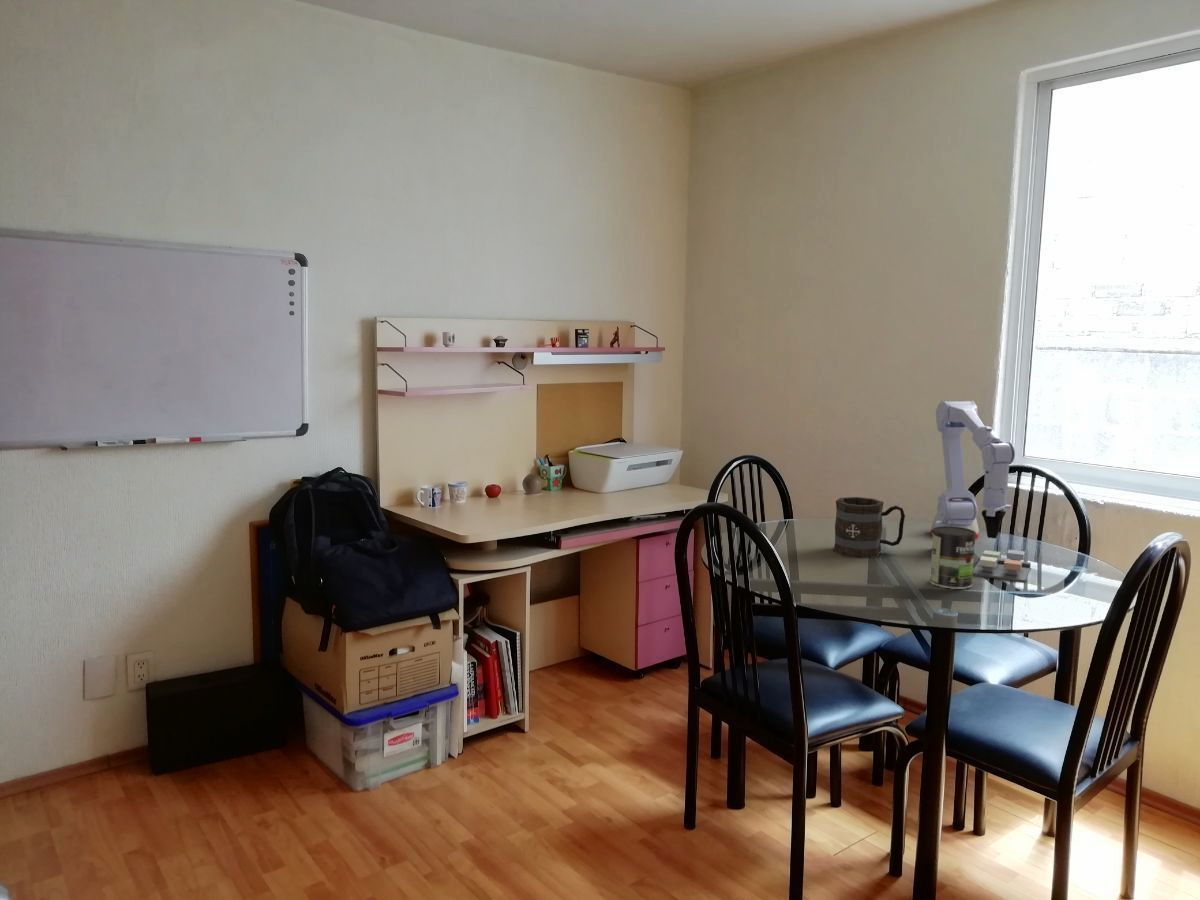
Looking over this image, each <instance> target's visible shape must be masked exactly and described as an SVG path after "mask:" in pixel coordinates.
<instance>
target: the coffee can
mask: <svg viewBox="0 0 1200 900" xmlns="http://www.w3.org/2000/svg"><path fill="white" fill-rule="evenodd" d="M975 536H976V532H975V531H973V530H970V529H967V528H961V527H952V526H941V527H935V528H933V535H932V543H931V545H932V548H931V560H930V561H931V564H930V577H929V578H930V580H929V583H930V582H931V583H932V584H935V585H937V586H940V587H939V588H941V587H945V588H952V589H951V590H953V589H963V590H968V589H967V588H969V589H971V588H972V587H973V576H974V575H973V570H974V560H975V557H974V555H975V544H976V539H975ZM931 583H930V584H931ZM932 584H931V585H932ZM937 586H936V587H937ZM970 587H971V588H970ZM945 588H944V589H945Z"/></svg>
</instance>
